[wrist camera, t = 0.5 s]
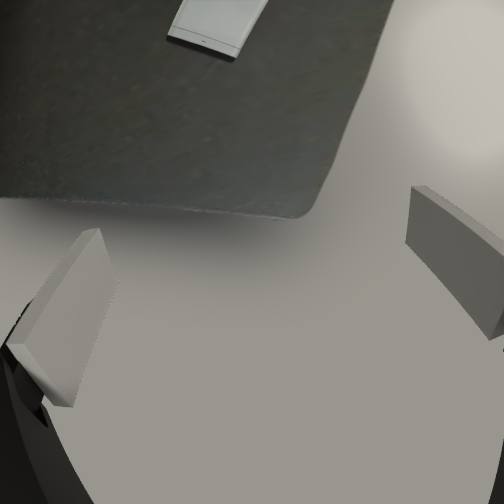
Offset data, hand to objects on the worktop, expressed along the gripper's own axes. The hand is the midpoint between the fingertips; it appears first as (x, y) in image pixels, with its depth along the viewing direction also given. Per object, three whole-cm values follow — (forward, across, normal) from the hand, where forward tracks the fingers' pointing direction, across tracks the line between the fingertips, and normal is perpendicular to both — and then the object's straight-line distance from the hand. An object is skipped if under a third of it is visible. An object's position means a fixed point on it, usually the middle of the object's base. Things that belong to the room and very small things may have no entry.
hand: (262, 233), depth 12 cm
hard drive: (+24, +1, +17) cm, 30 cm away
